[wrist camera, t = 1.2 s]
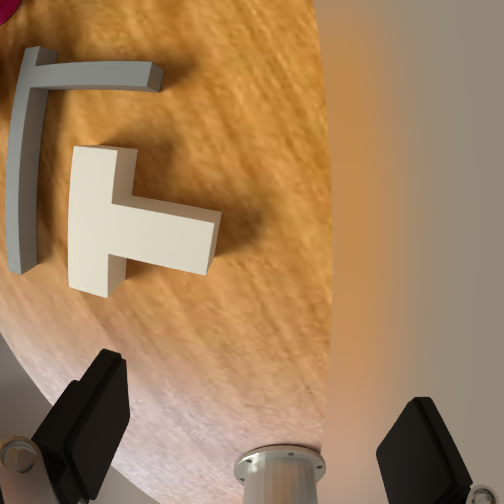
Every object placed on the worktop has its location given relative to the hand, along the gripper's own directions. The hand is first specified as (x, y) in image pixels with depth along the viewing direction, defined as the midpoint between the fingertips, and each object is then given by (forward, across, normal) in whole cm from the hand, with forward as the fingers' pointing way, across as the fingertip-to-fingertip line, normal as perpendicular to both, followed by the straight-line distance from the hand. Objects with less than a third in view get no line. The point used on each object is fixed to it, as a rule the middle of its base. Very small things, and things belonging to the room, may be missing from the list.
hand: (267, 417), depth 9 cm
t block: (+19, +10, 0) cm, 21 cm away
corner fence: (+19, +18, -4) cm, 26 cm away
